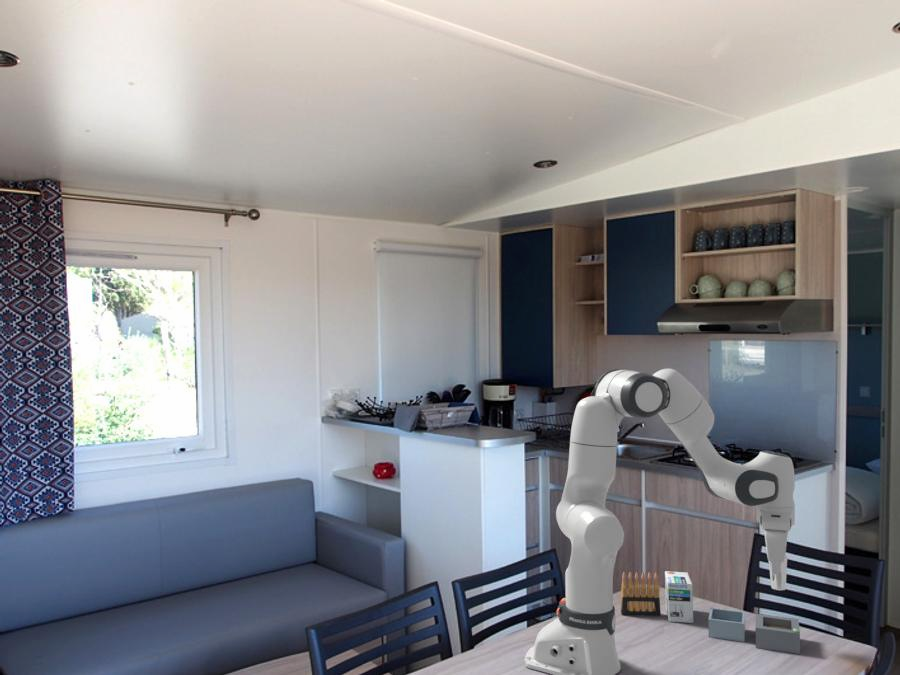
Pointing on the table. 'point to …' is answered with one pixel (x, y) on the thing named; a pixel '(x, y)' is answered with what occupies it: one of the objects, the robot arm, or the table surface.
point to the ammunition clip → (640, 596)
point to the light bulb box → (679, 597)
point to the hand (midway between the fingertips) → (775, 570)
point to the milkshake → (779, 576)
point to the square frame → (777, 634)
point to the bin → (727, 624)
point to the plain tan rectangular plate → (777, 627)
